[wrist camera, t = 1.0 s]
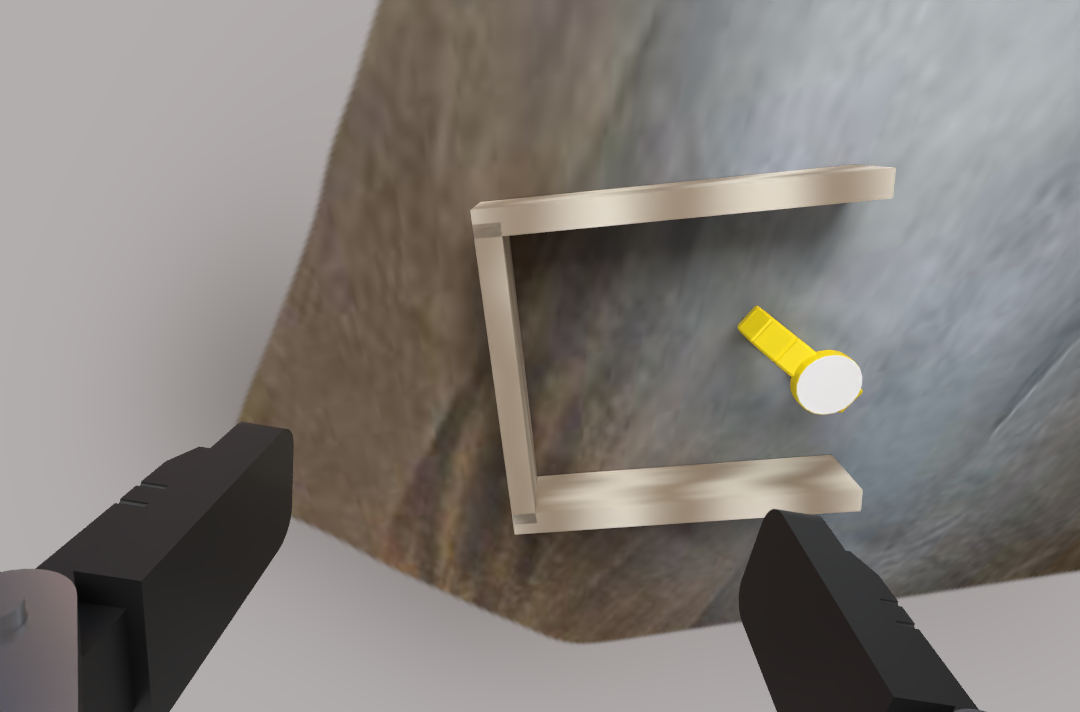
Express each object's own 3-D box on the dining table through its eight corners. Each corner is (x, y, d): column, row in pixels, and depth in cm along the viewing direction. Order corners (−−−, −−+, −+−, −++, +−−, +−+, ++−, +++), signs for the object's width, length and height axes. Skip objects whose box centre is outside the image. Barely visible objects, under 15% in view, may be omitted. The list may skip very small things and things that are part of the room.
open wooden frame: (854, 164, 27) (895, 167, 24) (829, 473, 33) (860, 510, 29) (480, 202, 28) (470, 210, 25) (518, 496, 34) (514, 534, 30)
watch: (713, 325, 30) (750, 368, 24) (752, 282, 29) (799, 316, 23) (798, 390, 31) (852, 446, 25) (837, 351, 30) (902, 399, 25)
